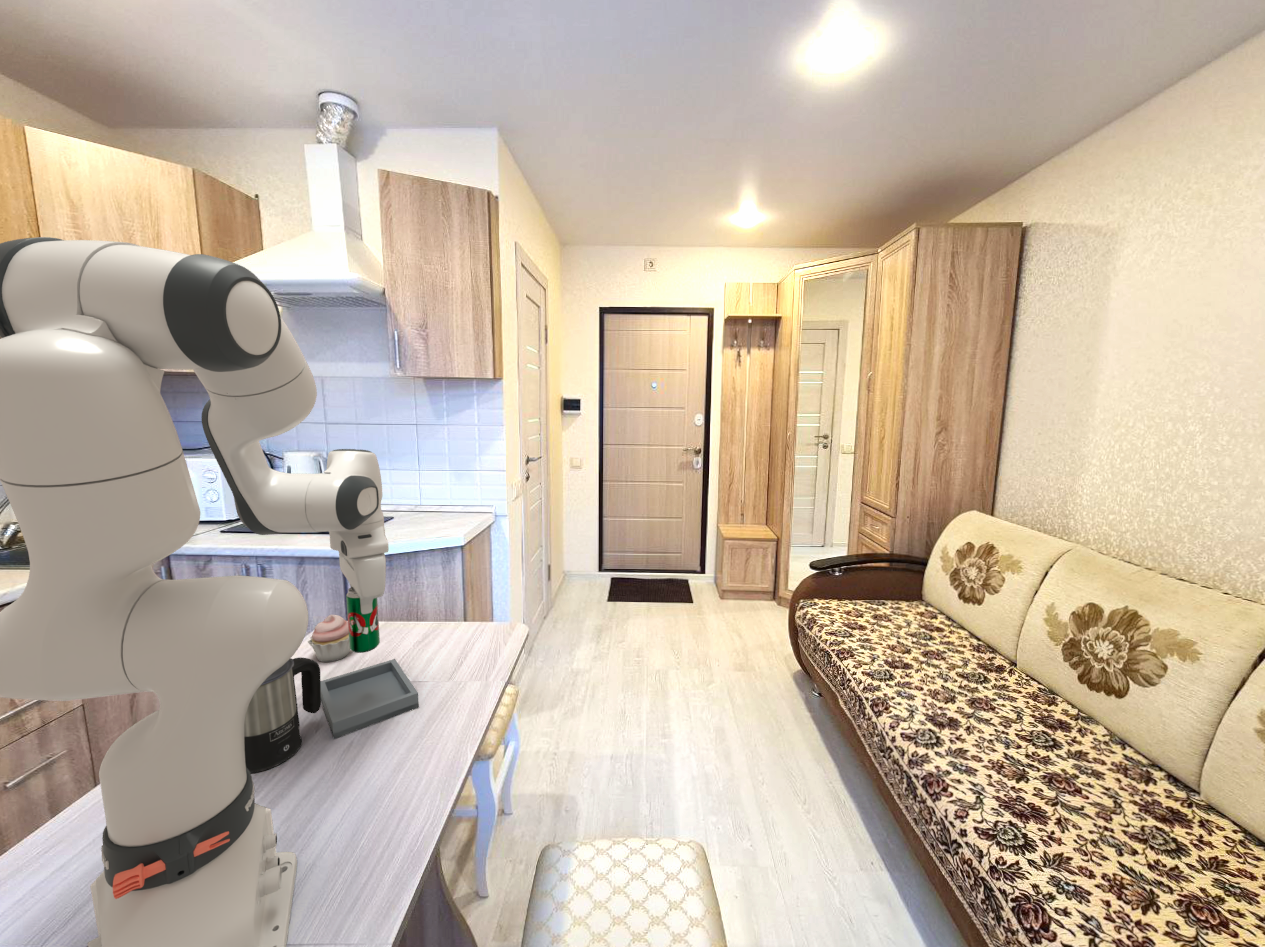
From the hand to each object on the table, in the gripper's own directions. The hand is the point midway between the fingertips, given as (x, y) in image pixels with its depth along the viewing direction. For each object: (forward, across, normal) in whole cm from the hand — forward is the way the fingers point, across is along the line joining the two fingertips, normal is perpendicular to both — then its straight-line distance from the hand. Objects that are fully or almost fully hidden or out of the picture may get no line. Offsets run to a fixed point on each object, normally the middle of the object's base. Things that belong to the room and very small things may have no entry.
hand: (362, 606), depth 90 cm
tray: (+20, 0, 0) cm, 20 cm away
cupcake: (+20, -24, -2) cm, 31 cm away
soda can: (+8, 0, 0) cm, 9 cm away
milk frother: (+20, +1, -17) cm, 26 cm away
